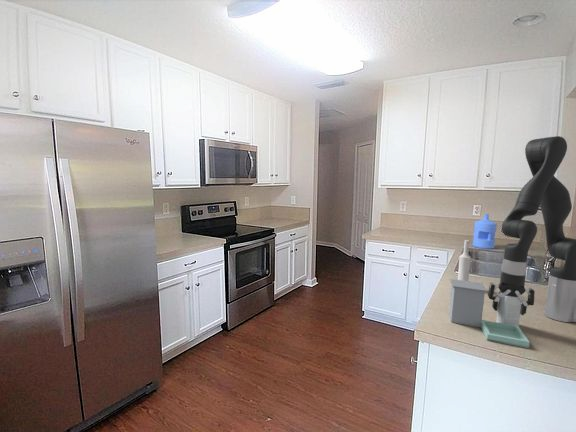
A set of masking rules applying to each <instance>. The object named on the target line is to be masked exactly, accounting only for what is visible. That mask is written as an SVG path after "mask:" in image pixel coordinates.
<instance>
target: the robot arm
mask: <svg viewBox="0 0 576 432" xmlns="http://www.w3.org/2000/svg"><path fill="white" fill-rule="evenodd" d="M567 143H568V142H567V140H566V139H565V138H564V137H562V136H559V135H556V136H548V137H542V138H535V139H531V140H529V141H528V142H527V143H526V146H525V148H524V149H525V150H524V153H525V159H526V161H527V164H528V167H529V169H530V173H531V175H532V177H531V178H530V179H529V180H528V181H527V182H526V183H525V185H524V186H523V187H522V188H521V190H520V191H519V193H518V196H517V199H516V202H515V205H514V207H513V208H512V209H511V211H510V212H509V213H508V215H507V216H506V217H505V219H504V220H503V222H502V224H501V232H502V234H503V235H504V236H505V237H507V238H508V237H510V238H514V239H515V238H516V239H519V241H518V242H517V243H507V244H506V245H505V247H504V253H503V260H502V264H501V270H500V271H501V273H500V280H499V284H495V283H494V282H490V283H489V288H488V290H487V297H488V298H489V300H491V301H492V304H491V306H492V309H493V310H494V312H495V311H496V312H497V311H498V302H499V300H500V299H502V298H503V297H504V296H513V297H518V298H519V299H520V300H521V310H520V316H524V315H526V313H527V308H528V306H534V305H535V294H536V293H535V290H534V289H533V288H532V287H528V288H527V287H526V288H525V285H526V283H525V282H526V277H527V270H528V269H527V268H528V265H527V263H528V262H527V261H528V254H529V250H530V248H531V246H532V244H533V241H534V240H535V238H536V236H537V233H538V227H537V224H536V223H535V222H534V221H532V220H526V219H523V218H525V217H528V216H529V217H530V216H535V215H537V213H538V211H539V209H540V211H541V213H542V218H543V224H544V228H545V229H544V230H545V239H546V248H547V252H548V254H549V255H550V257H553V258H555V259H558V260H562V261H564V263H563V265H562V266H555V267H551V268H550V270H549V277H548V281H547V282H548V283H547V284H548V285H547V290H546V297H545V306H544V311H543V314H544V316H546V318H549V319H552V320H556V321H558V322H564V323H576V238H571V237H566V236H565V233H564V226H563V225H564V223H565V221H566V220H567V219H568V216H570V213H571V212H572V207H573V206H572V200H571V196H570V191H569V190H568V188H567V187H566V185H564V184H563V183H562V182H561V181H560V180H559V179H558V178H557V177H556V176H555V174H556V172H557V171H558V169H559V168H560V166H561V164H562V162H563V160H564V158H565V156H566V155H567V154H566V153H567V151H568V144H567ZM497 289H498V290H499V291H498V292H496V294H495V295H494V293H495V291H496V290H497ZM499 293H502V294H499ZM524 293H526V294H527V300H526V299H524V297H523V294H524Z"/></svg>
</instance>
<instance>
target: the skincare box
mask: <svg viewBox="0 0 576 432" xmlns="http://www.w3.org/2000/svg"><path fill="white" fill-rule="evenodd" d="M499 294H502V293H499ZM521 304H522V302H521V300H520V299H519V298H518V297H513V296H504V297H503V298H502V299H500V300H499V301H498V309H497V311H496V321H495V322H497V323H503V324H509V325H515V326H518V327H519V328H520V319H521V314H520V310H521Z"/></svg>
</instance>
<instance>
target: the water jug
mask: <svg viewBox="0 0 576 432" xmlns="http://www.w3.org/2000/svg"><path fill="white" fill-rule="evenodd" d="M489 215H490V214H488V213H484V215H483V217H484V218H482V219H479V220H476V221H475V222H474V225H473V226H474V229H473V240H472V247H475V248H476V249H477V248H478V249H485V250H492V249H495V244H496V242H495V241H496V240H495V238H496V237H495V235H496V232H497V228H498V226H497V225H498V224H497V223H496V222H494V221H493V220H491V219H489Z"/></svg>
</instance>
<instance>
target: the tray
mask: <svg viewBox="0 0 576 432" xmlns="http://www.w3.org/2000/svg"><path fill="white" fill-rule="evenodd" d="M480 328H481V331H482V332H483V334H484V337H485V339H486V341H490V342H494V343H499V344H504V345H510V346H516V347H521V348H525V349H526V348H527V349H529V348H530V343H531V342H530V340H529V339H528V338H527V336H526V335H525V333H524V332H523V331H522V330H521V328H520V326H519V327H518V326H515V325H509V324H503V323H497V322H496V321H490V320H484V319H482V322H481V327H480Z"/></svg>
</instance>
